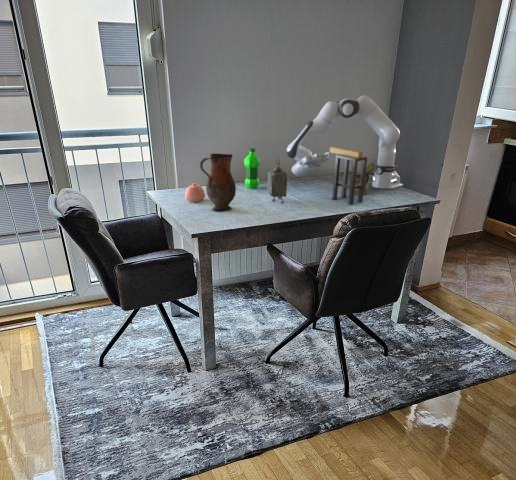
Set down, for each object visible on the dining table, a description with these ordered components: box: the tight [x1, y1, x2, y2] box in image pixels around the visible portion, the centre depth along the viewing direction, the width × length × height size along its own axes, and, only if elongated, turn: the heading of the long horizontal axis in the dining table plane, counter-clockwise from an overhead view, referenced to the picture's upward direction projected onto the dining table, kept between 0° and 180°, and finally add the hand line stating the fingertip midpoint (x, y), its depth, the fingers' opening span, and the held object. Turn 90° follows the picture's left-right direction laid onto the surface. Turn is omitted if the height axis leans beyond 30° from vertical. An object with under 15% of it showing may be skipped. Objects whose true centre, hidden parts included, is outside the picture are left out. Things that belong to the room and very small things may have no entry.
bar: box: [329, 146, 363, 158], centre depth 280 cm, size 3×24×3 cm, turn 37°
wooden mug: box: [354, 162, 375, 196], centre depth 303 cm, size 9×14×18 cm, turn 115°
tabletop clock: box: [267, 157, 288, 204], centre depth 282 cm, size 14×9×25 cm, turn 9°
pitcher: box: [199, 153, 237, 212], centre depth 264 cm, size 17×21×30 cm
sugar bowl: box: [184, 182, 206, 203], centre depth 287 cm, size 12×14×10 cm
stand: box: [332, 154, 368, 205], centre depth 284 cm, size 10×16×26 cm, turn 37°
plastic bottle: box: [243, 147, 261, 190], centre depth 313 cm, size 10×10×25 cm
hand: (322, 154), depth 298 cm, fingers open, 8 cm apart
